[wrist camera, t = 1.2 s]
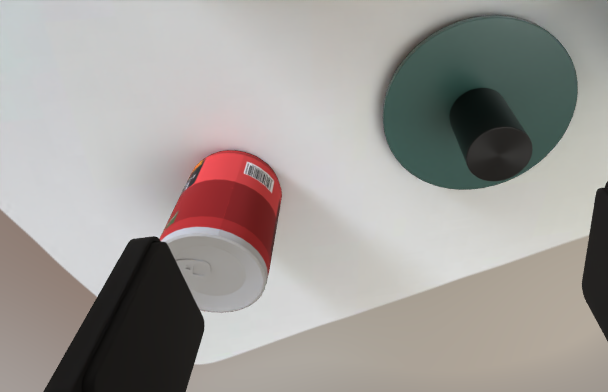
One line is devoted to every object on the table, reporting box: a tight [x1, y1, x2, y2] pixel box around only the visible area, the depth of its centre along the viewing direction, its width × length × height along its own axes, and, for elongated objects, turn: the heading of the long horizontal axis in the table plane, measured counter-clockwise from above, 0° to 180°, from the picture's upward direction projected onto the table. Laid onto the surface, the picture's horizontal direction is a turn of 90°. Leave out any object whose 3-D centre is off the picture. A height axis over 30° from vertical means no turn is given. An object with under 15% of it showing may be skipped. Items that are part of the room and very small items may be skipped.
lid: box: [383, 15, 577, 190], centre depth 33 cm, size 14×14×7 cm
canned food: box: [160, 150, 282, 313], centre depth 37 cm, size 8×8×11 cm
